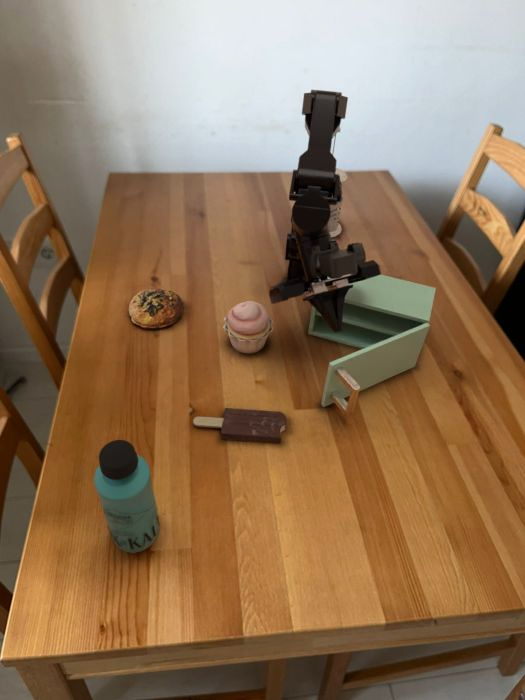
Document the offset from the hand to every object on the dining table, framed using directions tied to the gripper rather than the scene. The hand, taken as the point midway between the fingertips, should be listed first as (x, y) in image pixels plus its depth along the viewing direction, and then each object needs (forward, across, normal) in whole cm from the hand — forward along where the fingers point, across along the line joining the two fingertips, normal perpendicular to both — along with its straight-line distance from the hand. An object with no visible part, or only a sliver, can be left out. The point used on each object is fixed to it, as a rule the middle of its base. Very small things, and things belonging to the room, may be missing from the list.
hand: (338, 331), depth 86 cm
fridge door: (+13, +5, +1) cm, 14 cm away
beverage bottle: (+19, -40, -5) cm, 44 cm away
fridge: (+2, +12, +12) cm, 17 cm away
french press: (-24, +22, +37) cm, 49 cm away
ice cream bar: (+11, -20, +3) cm, 23 cm away
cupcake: (-2, -11, +16) cm, 19 cm away
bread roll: (-12, -24, +26) cm, 38 cm away
